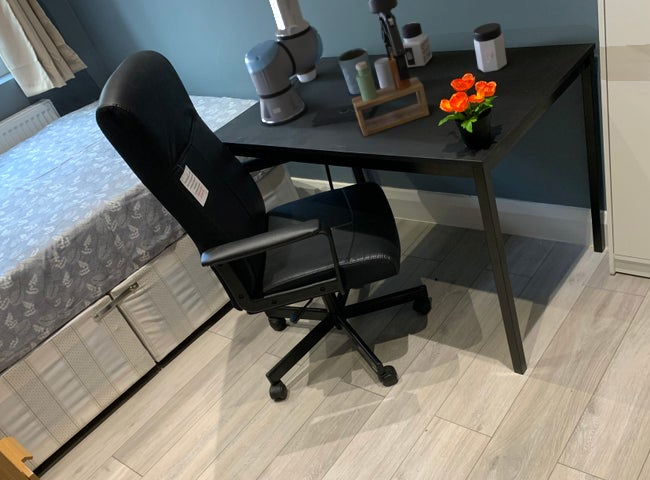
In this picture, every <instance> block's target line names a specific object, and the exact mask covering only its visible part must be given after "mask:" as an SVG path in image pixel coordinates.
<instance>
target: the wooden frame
mask: <svg viewBox="0 0 650 480" xmlns="http://www.w3.org/2000/svg"><path fill="white" fill-rule="evenodd" d="M410 83H411V85H410V86H409V87H408V88H406V89H402V90H396V89H395V85H391V86H388V87H385V88H382V89H381V88H379V89H376V92H377V97H376V98H375V99H373V100H370V101H364V100H363V99H362V95H359V96H356V97H353V98H351V101H352V105H354V108H355V112H356V115H357V118H358V119H357V121H358V125H359V128H360V130H361V132H362V134H363V137H364V138H365V137H367V136H371V135H374V134H376V133H379V132H382V131H385V130H389V129H391V128H394V127H398V126H400V125H404V124H406V123H409V122H412V121H415V120H417V119H421V118H423V117H427V116H430V111H429V106H428V101H427V98H426V93H425V88H424V84H423V83H422V82H421V81H420V79H419V78H418V77H417V76H415V77H410ZM414 93H415V95H416V100H417V103H415V104H412V105H409V106H406V107H403V108H399V109H397V110H393V111H390V112H388V113H385V114H382V115H379V116H376V117H373V118H370V119H368V120H365V118H363V115H362V112H361V110H364V109H367V108H370V107H372V106H375V105H377V106H378V105H381V104H384V103H387V102H390V101H393V100H396V99H399V98H402V97H404V96H405V97H406V96H408V95H410V94H414Z"/></svg>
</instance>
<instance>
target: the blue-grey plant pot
mask: <svg viewBox="0 0 650 480" xmlns="http://www.w3.org/2000/svg"><path fill="white" fill-rule="evenodd" d="M337 62H338V64H339V66H340V68H341V71H342V75H343V77H344V79H345V82H346V85H347V87H348V90H349V93H350V94H352V95H360V94H361V92H360V88H359V85H358V81H357V78H356V76H357V74H359V73H358V70H357V69H356V64H357V63H359V62H366V64H367V71H371V73H372V67H371V63H370V60H369V53H368V49H367V48H366V47H359V48H358V47H356V48H353V49H350V50H347V51H345V52H343V53H341V54H340V55H339V56H338V57H337ZM372 74H373V73H372Z"/></svg>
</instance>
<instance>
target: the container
mask: <svg viewBox="0 0 650 480" xmlns="http://www.w3.org/2000/svg"><path fill="white" fill-rule="evenodd" d="M401 34H402V37H403V41H402V43H403V47H404V50H405V52H406V54H405V59H406V63H407V67H408V68H413V67H424V66H426V64H428V62H429V61H430V60H431V59H432V58H433V52H432V49H431V48H432V47H431V44H430V43H431V42H430V39H429V35H428V34H423V29H422V25H421V23H420V22H418V21H412V22H408V23H406V24H404V25H403V26H402V27H401Z"/></svg>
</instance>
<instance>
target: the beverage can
mask: <svg viewBox="0 0 650 480" xmlns="http://www.w3.org/2000/svg"><path fill="white" fill-rule="evenodd" d="M374 68H375V72H376V75H377V79H378V82H379V83H378V84H379V87H380V89H382V88H385V87H388V86H391V85H394V81H393V77H392V73H391V69H390V65H389V61H388V57H381V58H378V59H376V60H375V61H374Z"/></svg>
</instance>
